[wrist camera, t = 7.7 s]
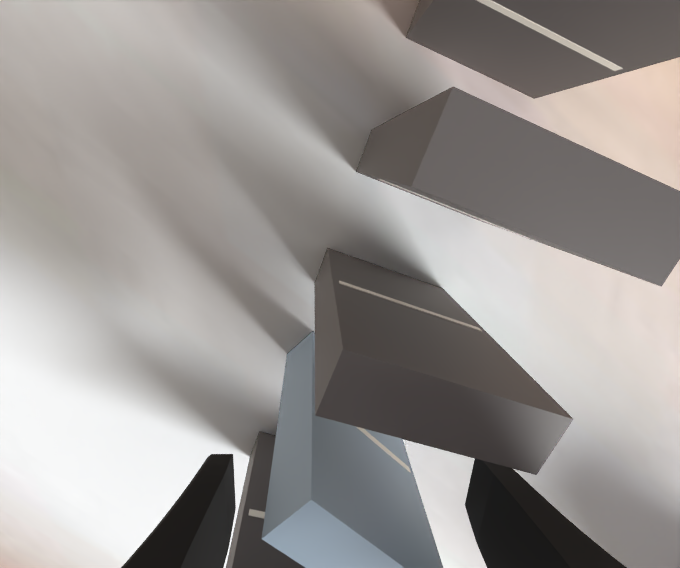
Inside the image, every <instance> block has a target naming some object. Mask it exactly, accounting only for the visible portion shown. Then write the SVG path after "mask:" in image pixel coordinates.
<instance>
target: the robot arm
mask: <svg viewBox="0 0 680 568" xmlns="http://www.w3.org/2000/svg"><path fill="white" fill-rule="evenodd" d="M465 506H466V510H467V513H468V516H469V520H470V523H471V526H472V530H473V533H474V536H475V539H476V542H477V544H478V547H479V549H480V552H481V554H482V556H483V559H484V561H485V563H486V566H487V568H626V567H625V566H624V565H622V564H621V563H620V562H618V561H617V560H616V559H615V558H613V557H612V556H611V555H610V554H608V553H607V552H606V551H605V550H603V549H602V548H601V547H600V546H599V545H597V544H596V543H595V542H594V541H593V540H591V539H590V538H589V537H588V536H587V535H585V534H584V533H583V532H582V531H581V530H579V529H578V528H577V527H576V526H575V525H574V524H573V523H571V522H570V521H569V520H568V519H567V518H566V517H564V516H563V515H562V514H561V513H560V512H559V511H558V510H557V509H556V508H554V507H553V506H552V505H551V504H550V503H549V502H548V501H547V500H546V499H545V498H543V497H542V496H541V495H540V494H539V493H538V492H537V491H536V490H535V489H534V488H533V487H532V486H530V485H529V484H528V483H527V482H526V481H525V480H524V479H523V478H522V477H521V476H520V475H519V474H518V473H517V472H516V471H514V470H513V469H512V468H509V467H505V466H502V465H498V464H494V463H491V462H487V461H483V460H479V459H476V458H475V461H474V465H473V470H472V475H471V479H470V484H469V489H468V493H467V498H466V503H465ZM234 514H235V488H234V467H233V454H211V455H210V456H209V457H208V458H207V459H206V460H205V462H204V464H203V465H202V467H201V468H200V469H199V471H198V472H197V474H196V475H195V477H194V478H193V479H192V481H191V482H190V484H189V485H188V486H187V488H186V489H185V490H184V492H183V493H182V495H181V496H180V497H179V499H178V500H177V501H176V502H175V504H174V505H173V506H172V508H171V509H170V510H169V511H168V513H167V514H166V515H165V517H164V518H163V519H162V520H161V522H160V523H159V524H158V525H157V527H156V528H155V529H154V530H153V532H152V533H151V534H150V535H149V536H148V537H147V539H146V540H145V541H144V542H143V543H142V544H141V546H140V547H139V548H138V549H137V550H136V552H135V553H134V554H133V555H132V556H131V557H130V559H129V560H128V561H127V562H126V563H125V564H124V565H123V566H122V567H121V568H223V566H224V563H225V559H226V555H227V552H228V547H229V542H230V537H231V531H232V526H233V520H234Z"/></svg>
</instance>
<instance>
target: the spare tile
mask: <svg viewBox="0 0 680 568" xmlns="http://www.w3.org/2000/svg"><path fill="white" fill-rule="evenodd" d="M262 540H264V541H265V542H267V543H268V544H270V545H272V546H273V547H275V548H276V549H278V550H279V551H281V552H282V553H284V554H285V555H287V556H288V557H290V558H291V559H293V560H294V561H296V562H298V563H299V564H301V565H302V566H304V567H305V568H443V566H442V562H441V559H440V556H439V553H438V550H437V547H436V544H435V540H434V537H433V534H432V531H431V528H430V525H429V522H428V518H427V515H426V512H425V509H424V506H423V503H422V499H421V496H420V493H419V490H418V487H417V484H416V481H415V477H414V474H413V471H412V468H411V465H410V462H409V459H408V455H407V452H406V449H405V446H404V443H403V440H402V439H401V438H397V437H393V436H390V435H386V434H382V433H378V432H375V431H371V430H367V429H364V428H360V427H356V426H352V425H349V424H345V423H341V422H337V421H334V420H330V419H326V418H322V417H319V416H315V333H314V332H313V331H312V332H311V333H310V334H309V335H308V336H307V337H305V338H304V339H303V340H302V341H301V342H300V343H299V344H298V345H297V346H296V347H294V348H293V349H292V350H291V351H290V352H289V353H288V354H287V359H286V366H285V373H284V380H283V387H282V395H281V402H280V409H279V416H278V424H277V431H276V438H275V445H274V453H273V460H272V467H271V474H270V481H269V489H268V496H267V503H266V510H265V518H264V525H263V532H262Z"/></svg>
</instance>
